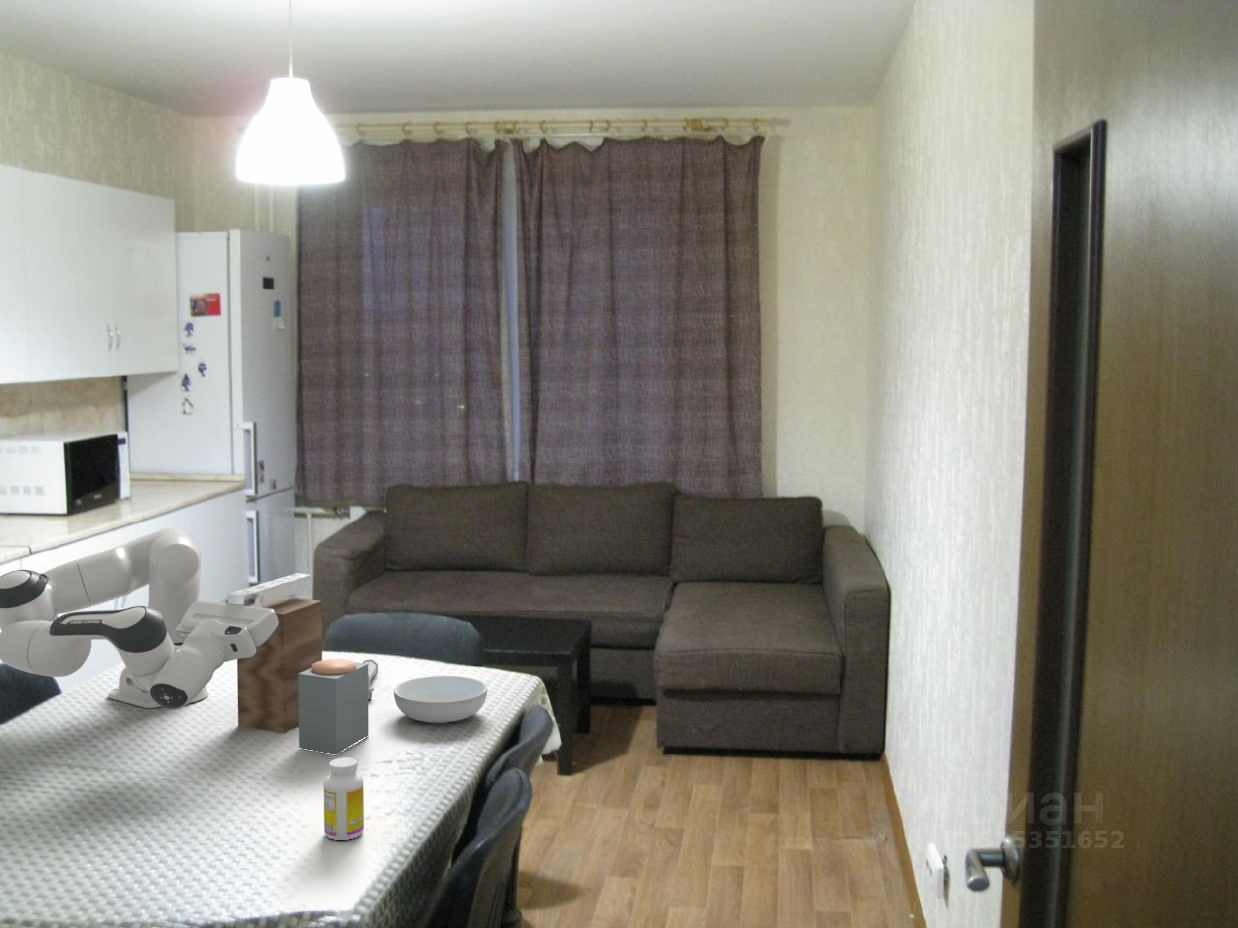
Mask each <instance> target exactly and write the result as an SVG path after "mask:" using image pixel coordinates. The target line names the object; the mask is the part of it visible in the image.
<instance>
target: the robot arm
mask: <svg viewBox="0 0 1238 928" xmlns="http://www.w3.org/2000/svg"><path fill="white" fill-rule="evenodd" d="M201 556H202V555H201V551H200V549H199V548H198V546H197V544H196V543H195V542H194V540H193V539H192V538H191V536H190V535H189V534H188V533H187V532H186V531H184V530H182V529H180V528H175V527H165V528H161V529H159V530H157V531H154V532H151V533H148V534H146V535H143V536H141V537H137V538H136V539H133V540H131V541H128V542H126V543H124V544H121V545H119V546H115V547H113V548H110V549H108V550H104V551H101V552H98V553H95V554H91V555H87V556H84V557H81V558H78V559H75V560H71V561H69V562H65V563H63V564H60V565H57V566H56V567H53V568H51V569H48V570H45V571H44V572H42V573H39V572H37V571H34V570H29V569H18V570H13V571H9V572H6V573H4V574H3V575H1V576H0V630H1V631H0V661H1V662H2V663H4V664H5V665H7V666H9V667H11V668H14V669H17V670H19V671H23V672H26V673H28V674H29V673H30V674H34V675H39V676H45V677H51V678H52V677H53V678H64V677H67V676H71V675H72V674H75V673H76V672H77V671H79V670H80V669H81V668H82V667H83V666H84V664H85V663H86V662H87V660H88V658H89V656H90V654H91V650H92V641H94V640H95V641H96V640H99V641H100V640H107V641H108V642H109V643H110V644H111V645H112V646H113V647H114V648H115V650H116V651H117V652H118V654H119V656H120V659H121V660H122V662H123V664H124V666H125V667H124V668H123V669H122V671H121V672H120V674H119V681H118V682H119V683H118V686H117V687H115V688H113V689H112V690H110V691H109V692H108V695H107V697H108V698H109V699H112V700H116V701H120V702H123V703H127V704H131V705H134V706H138V707H140V708H143V709H144V708H146V709H156V708H160V707H164V708H167V709H170V710H171V709H172V710H175V709H181V708H183V707H185V706H187V705H188V704H191V703H195V702H198V701H200V700H203V699H205V698H206V697H208V695H209V691H208V689H207V685H208V683H209V682H211V680H212V678H213V675H214V673H215V672H216V671H217V670H218V669H219V668H221V667H222V666H223V665H224V663H227V662H231V661H235V660H237V659H240V658H248V657H252V656H254V655H255V653H256V651H257V650H256V647H257V646H260V645H262V644H263V643H264V642H265V641H266V640H267V639H268V638H269V637H270V635H271V634H272V633H273V632H274V630H275V629H276V628H277V626H278V623H279V622H278V618H277V615H276V613H275V611H274V610H273V609H268V608H261V605H262V603H263V602H264V600H265V598H264V596H263V595H262V594H256V595H255V596H254V597H253V598H252V599H253V601H254V604H255V605H254V604H252V605H251V606H243V605H234V604H228V596H227V597H226V598H223V599H222V600H221V601H220V602H215V601H206V600H200V593H201V580H202V579H201V576H202V575H201V574H202V573H201V572H202V571H201V570H202V569H201V568H202V557H201ZM146 586H148V604H147V606H145V605H136V606H130V607H127V608H123V609H107V610H106V609H103V610H84V609H88V608H91V607H94V606H98V605H100V604H101V605H102V604H104V603H107V602H109V601H114V600H116V599H120V598H122V597H126V596H129V595H130V594H132V593H134V592H136V591H138V590H139V589H141V588H144V587H146ZM81 610H82V611H81ZM61 614H62V615H61ZM59 615H60V616H59Z"/></svg>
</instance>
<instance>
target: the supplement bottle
mask: <svg viewBox="0 0 1238 928" xmlns="http://www.w3.org/2000/svg"><path fill="white" fill-rule="evenodd" d="M328 767H329V768H328V770H329V772H330V774H329V775H328V776H326V778H325V779H324V781H323V830H324V835H325V837H326V838H327V837H328V839H329V838H330V839H329V840H331V839H334V840H333V841H336V840H346V841H350V840H349V839H352V840H354V839H353V838H355V839H357V838H359V837H360V836H361V835H363V833H364V829H365V813H364V812H365V811H364V810H365V809H364V808H365V807H364V806H365V803H364V779H363V776H362V775H361V774H360V773H358V772H357V771H358V760H357V759H355V758H352V757H338V758H334V759H332V760H330V761H329V765H328ZM358 836H359V837H358ZM356 837H357V838H356Z"/></svg>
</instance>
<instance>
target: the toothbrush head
mask: <svg viewBox="0 0 1238 928" xmlns="http://www.w3.org/2000/svg"><path fill="white" fill-rule="evenodd" d="M362 663H365V664H368V700H369V699H371V698H372V699H373V692H374V691H375V690H374V686H372V685H371V680H372V679H373V678H374V677H375V676H376V675H377V674H378V673H379V664H378V662H377V661H376V660H375V659H373V658H372V659H365V660H364V661H363V662H362ZM375 674H376V675H375ZM374 675H375V676H374ZM373 676H374V677H373Z"/></svg>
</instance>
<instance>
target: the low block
mask: <svg viewBox="0 0 1238 928" xmlns="http://www.w3.org/2000/svg"><path fill="white" fill-rule="evenodd" d="M298 685H299V727H298V749H299V748H302V749H307V750H313V751H318V752H323V753H322V754H324V753H330V754H338V753H340V752H341V751H343V750H344V749H346V748H348V747H349V746H351V745H353V744H354V743H356V742H358V741H359V740H361V739H363V738H364V737H367V736H368V737H369V699H368V664H365V663H363V662H356V661H353V660H351V659H344V658H330V659H322V661H318V662H315V663H314V664H312V668H310V669H308V670H306V671H303V672H301V673H299V674H298ZM318 752H317V753H318ZM330 754H329V755H330ZM340 754H341V753H340ZM338 755H339V754H338Z"/></svg>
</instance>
